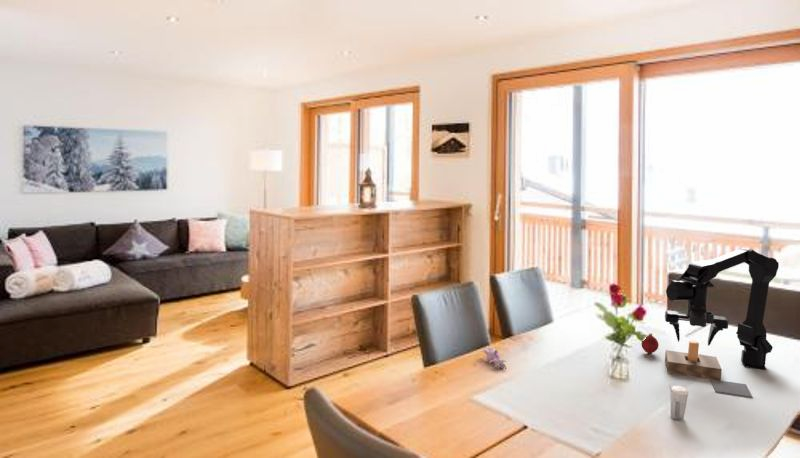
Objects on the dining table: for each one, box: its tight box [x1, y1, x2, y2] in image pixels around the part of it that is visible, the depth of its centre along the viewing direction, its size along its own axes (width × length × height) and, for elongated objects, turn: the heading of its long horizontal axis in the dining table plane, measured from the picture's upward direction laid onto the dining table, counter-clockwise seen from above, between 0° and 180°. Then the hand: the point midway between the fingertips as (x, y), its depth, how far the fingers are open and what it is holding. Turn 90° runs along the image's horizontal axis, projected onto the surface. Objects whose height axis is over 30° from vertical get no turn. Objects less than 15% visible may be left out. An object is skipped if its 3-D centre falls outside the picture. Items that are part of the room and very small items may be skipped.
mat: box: [710, 379, 753, 399], centre depth 171 cm, size 10×10×1 cm
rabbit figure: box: [483, 347, 507, 372], centre depth 190 cm, size 6×6×15 cm
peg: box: [687, 340, 700, 362], centre depth 185 cm, size 3×3×10 cm
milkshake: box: [668, 384, 689, 421], centre depth 151 cm, size 4×5×10 cm
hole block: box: [664, 349, 723, 381], centre depth 186 cm, size 16×12×4 cm
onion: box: [640, 332, 660, 355], centre depth 200 cm, size 6×6×8 cm
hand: (693, 343), depth 184 cm, fingers open, 9 cm apart
